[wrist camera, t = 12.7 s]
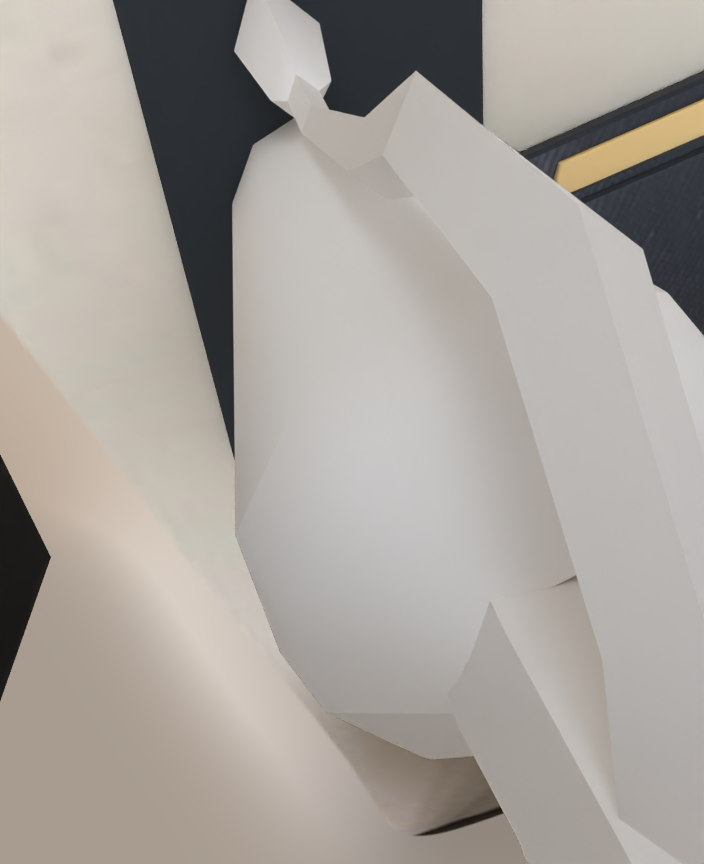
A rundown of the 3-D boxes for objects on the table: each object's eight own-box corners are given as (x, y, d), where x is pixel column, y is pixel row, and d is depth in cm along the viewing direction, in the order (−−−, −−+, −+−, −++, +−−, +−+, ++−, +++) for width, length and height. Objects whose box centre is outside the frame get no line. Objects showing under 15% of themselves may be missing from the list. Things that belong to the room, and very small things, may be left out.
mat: (482, 415, 30) (485, 420, 29) (235, 458, 29) (235, 464, 29) (475, -293, 17) (480, -299, 17) (51, -242, 17) (47, -247, 17)
